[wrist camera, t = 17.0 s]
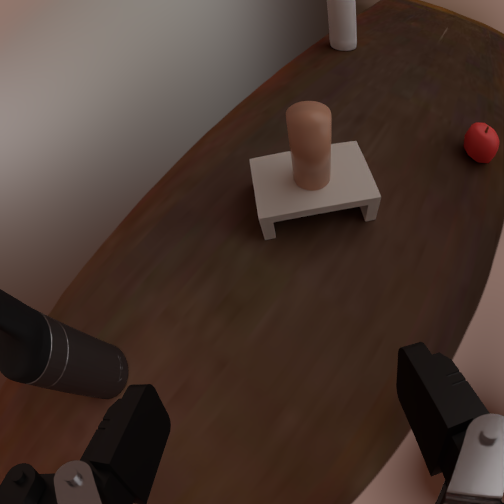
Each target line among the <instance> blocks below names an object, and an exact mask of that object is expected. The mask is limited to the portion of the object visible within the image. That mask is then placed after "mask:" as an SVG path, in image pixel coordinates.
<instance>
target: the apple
mask: <svg viewBox="0 0 504 504" xmlns="http://www.w3.org/2000/svg"><path fill="white" fill-rule="evenodd" d="M499 143H500V142H499V138H498V136H497V134H496V132H495V130H494V129H493V128H491V127H490V126H488V125H487V124H485V123H479V122H476V123H474V124H472V125H471V127H470V128H469V130H468V131H467V133H466V134H465V139H464V148H465V150H466V152H467V154H468V156H470V157H471V158H472V159H474V160H475V161H476V162H478V163H489V162H490V161H491V160H492V158H493V157H494V156H495V154H496V152H497V150H498V148H499Z"/></svg>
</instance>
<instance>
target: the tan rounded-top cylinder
mask: <svg viewBox="0 0 504 504" xmlns="http://www.w3.org/2000/svg"><path fill="white" fill-rule="evenodd" d="M286 120H287V128H288V136H289V144H290V152H291V161H292V169H293V178H294V181H295V183H296V184H297V185H298V186H299V187H300V188H302V189H305V190H310V191H314V190H319V189H322V188H324V187H325V186H326V185H327V184H328V183H329V181H330V174H331V111H330V109H329V108H328V107H327V106H326V105H324V104H322V103H319V102H315V101H302V102H298V103H295V104H293V105H292V106H290V107H289V108H288V109H287V111H286Z"/></svg>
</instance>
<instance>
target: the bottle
mask: <svg viewBox="0 0 504 504" xmlns="http://www.w3.org/2000/svg"><path fill="white" fill-rule="evenodd" d="M327 7H328V19H329V33H330V36H329V39H330V45H331V47H332V48H334V49H336V50H340V51H351V50H354V49H355V48H356V43H357V38H356V4H355V0H327Z"/></svg>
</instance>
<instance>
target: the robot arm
mask: <svg viewBox="0 0 504 504" xmlns="http://www.w3.org/2000/svg"><path fill="white" fill-rule="evenodd" d="M0 371H1V373H2V374H3V375H4V376H5V377H7V378H8V379H10V380H13V381H16V382H20V383H24V384H29V385H33V386H37V387H41V388H47V389H51V390H56V391H61V392H66V393H72V394H77V395H83V396H88V397H95V398H102V399H109V398H113V397H115V396H117V395H118V394H119V393H120V392H121V391H122V390H123V388H124V386H125V384H126V382H127V378H128V364H127V361H126V358H125V356H124V354H123V353H122V352H121V350H120V349H118V348H117V347H116V346H114V345H111V344H109V343H107V342H104V341H102V340H100V339H97V338H95V337H93V336H90V335H88V334H86V333H83V332H81V331H79V330H77V329H74V328H72V327H70V326H68V325H66V324H64V323H61V322H59V321H57V320H55V319H53V318H51V317H49V316H47V315H44V314H43V313H41V312H38V311H37V310H35V309H32V308H31V307H29V306H27V305H26V304H24V303H22V302H21V301H19V300H18V299H16V298H14V297H13V296H11V295H9V294H7V293H6V292H4V291H2V290H1V289H0ZM396 385H397V394H398V398H399V401H400V403H401V406H402V408H403V410H404V412H405V415H406V417H407V419H408V422H409V424H410V426H411V429H412V431H413V433H414V435H415V437H416V440H417V443H418V445H419V448H420V450H421V453H422V455H423V458H424V460H425V462H426V465H427V468H428V470H429V473H430V475H431V476H434V475H436V474H439V473H441V472H442V473H443V475H444V478H445V482H444V484H443V487H442V490H441V492H440V494H439V496H438V499H437V501H436V503H435V504H504V503H502V495H503V491H504V416H502V415H499V414H490V413H489V412H488V410H487V409H486V407H485V406H484V404H483V403H482V402H481V400H480V399H479V397H478V396H477V394H476V393H475V392H474V390H473V389H472V387H471V386H470V385H469V383H468V382H467V381H466V380H465V378H464V376H463V375H462V373H460V372H459V369H458V368H457V367H456V366H455V364H454V363H453V361H452V360H451V359H449V358H448V357H446V356H444V355H442V354H441V353H436V354H433V355H432V354H431V353H430V351H429V350H428V348H427V347H426V346H425V344H424V343H423V342H419V343H415V344H412V345H408V346H405V347H401V348H400V349H399V351H398V368H397V384H396ZM170 427H171V424H170V418H169V415H168V413H167V411H166V409H165V408H164V406H163V404H162V402H161V400H160V398H159V396H158V394H157V392H156V390H155V388H154V387H153V386H152V385H151V384H144V385H130V386H129V387H128V388H127V390H126V392H125V393H124V395H123V397H122V399H118V400H117V401H116V402H115V403H114V404H113V405H112V406H111V407H110V408H109V409H108V410H107V412H106V414H105V416H104V418H103V421H101V423H100V425H99V426H98V430H96V432H95V434H94V435H93V437H92V439H91V441H90V443H89V445H88V446H87V448H86V450H85V452H84V454H83V456H82V457H81V459H80V461H70V462H68V463H66V464H64V465H62V466H61V467H60V468H59V469H58V470H57V472H56V474H39V473H38V472H37V471H36V470H35V469H34V468H33V467H32V466H31V465H29V464H26V463H22V464H18V465H16V466H14V467H13V468H11V469H10V470H9V472H8V473H7V475H6V476H5V478H4V480H3V482H2V483H1V485H0V504H133V503H137V504H146V503H147V500H148V497H149V494H150V491H151V488H152V485H153V482H154V478H155V475H156V472H157V469H158V466H159V463H160V460H161V457H162V454H163V451H164V448H165V445H166V442H167V439H168V436H169V433H170Z"/></svg>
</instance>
